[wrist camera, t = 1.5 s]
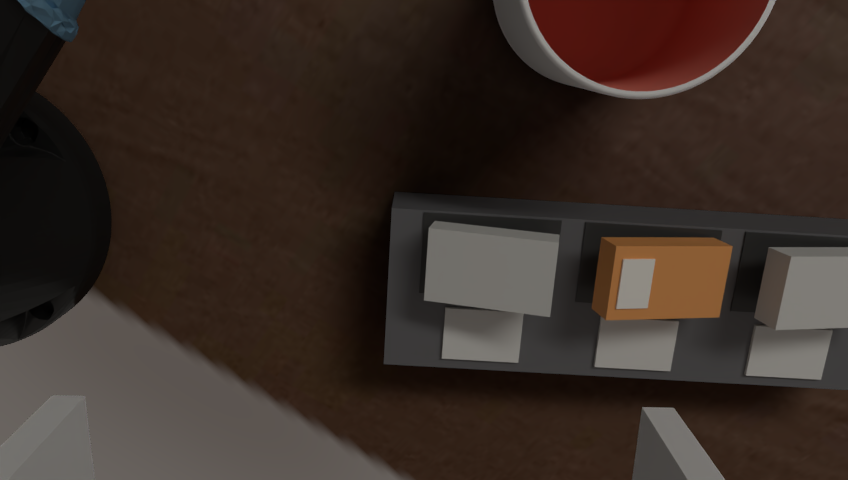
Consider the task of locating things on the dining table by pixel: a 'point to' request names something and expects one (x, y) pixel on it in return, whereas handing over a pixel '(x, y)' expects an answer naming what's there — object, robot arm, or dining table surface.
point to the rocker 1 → (491, 268)
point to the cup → (631, 41)
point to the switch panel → (573, 295)
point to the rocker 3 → (804, 288)
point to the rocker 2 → (660, 277)
